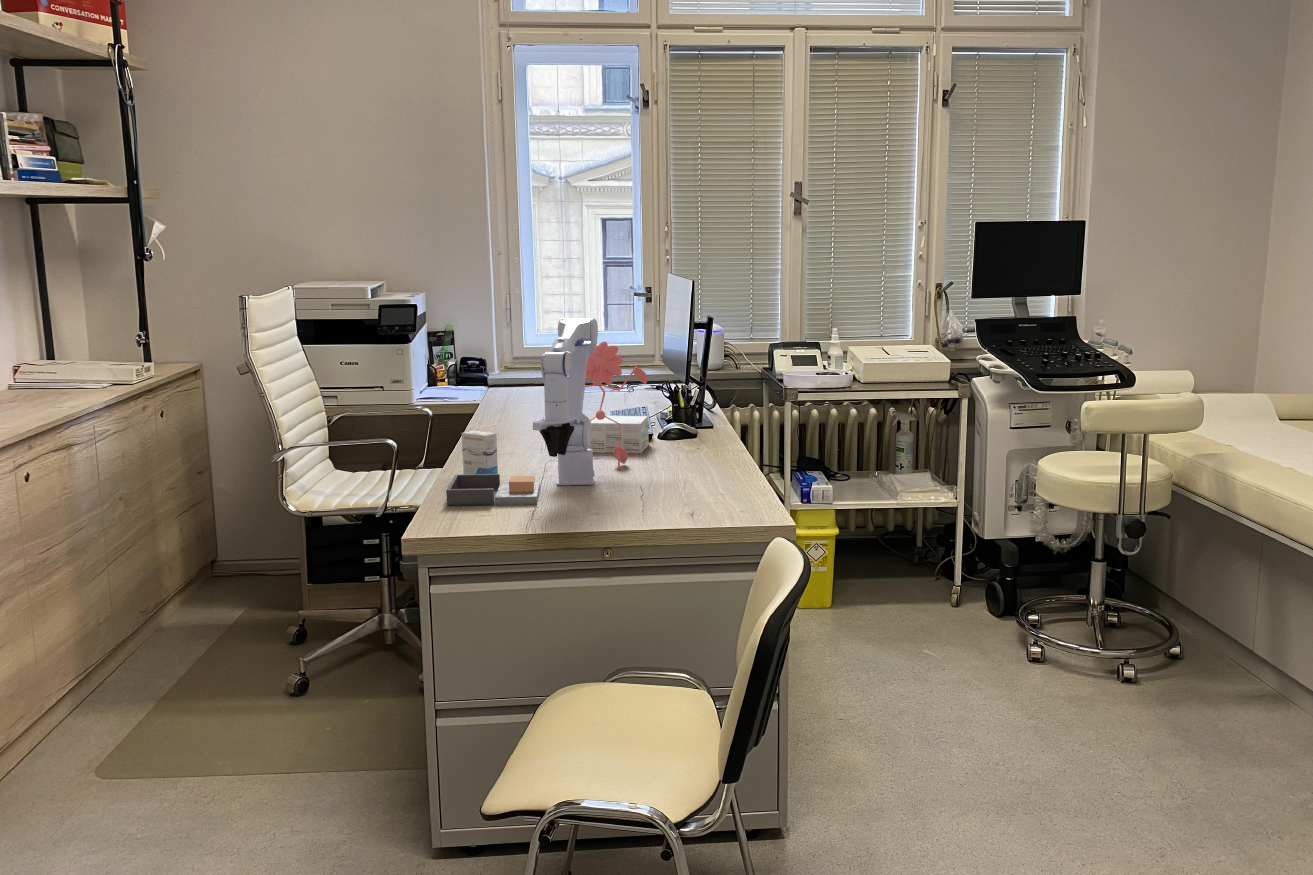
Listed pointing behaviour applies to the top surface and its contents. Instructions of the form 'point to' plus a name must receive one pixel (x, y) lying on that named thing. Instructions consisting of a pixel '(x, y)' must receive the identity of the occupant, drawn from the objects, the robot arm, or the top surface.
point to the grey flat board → (516, 495)
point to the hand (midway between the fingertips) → (557, 455)
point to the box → (473, 490)
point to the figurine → (609, 382)
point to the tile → (521, 483)
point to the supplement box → (630, 435)
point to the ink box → (479, 452)
